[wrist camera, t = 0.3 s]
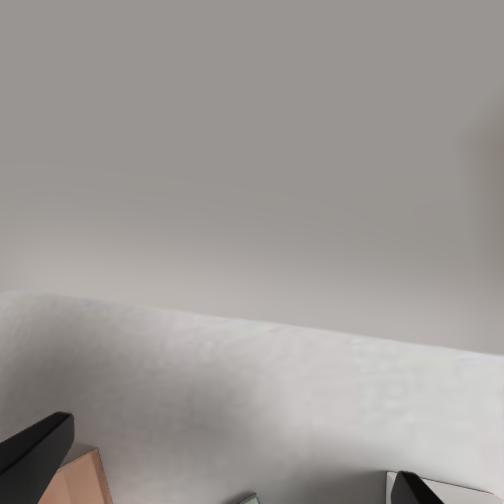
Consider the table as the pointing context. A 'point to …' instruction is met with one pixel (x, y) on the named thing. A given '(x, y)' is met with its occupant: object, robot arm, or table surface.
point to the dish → (79, 483)
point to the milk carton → (450, 493)
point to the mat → (250, 499)
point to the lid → (252, 501)
